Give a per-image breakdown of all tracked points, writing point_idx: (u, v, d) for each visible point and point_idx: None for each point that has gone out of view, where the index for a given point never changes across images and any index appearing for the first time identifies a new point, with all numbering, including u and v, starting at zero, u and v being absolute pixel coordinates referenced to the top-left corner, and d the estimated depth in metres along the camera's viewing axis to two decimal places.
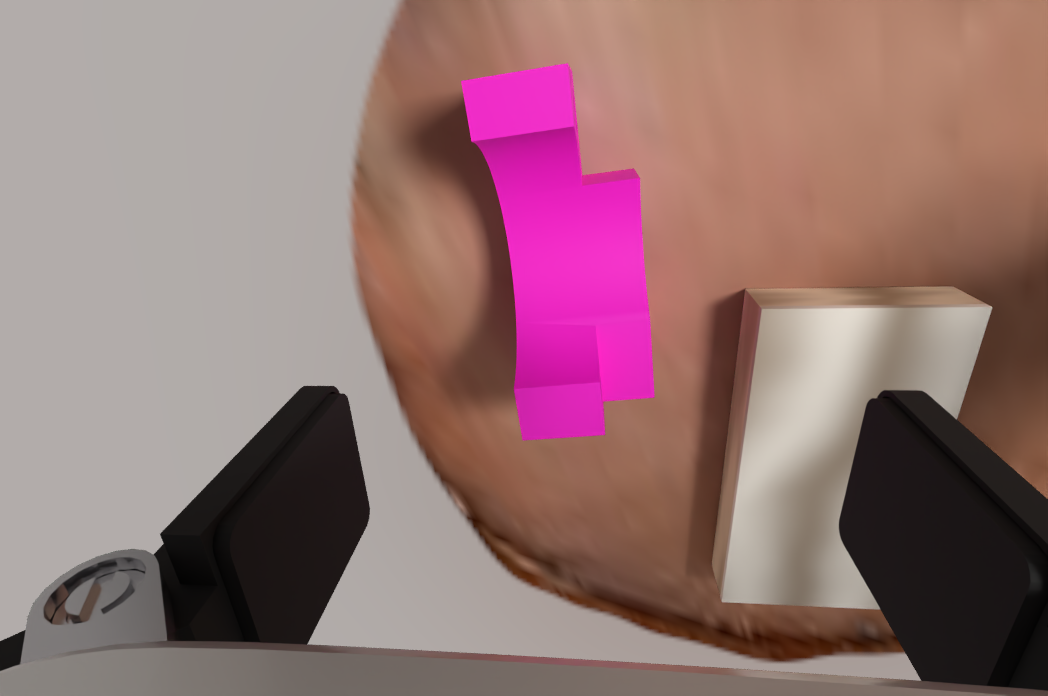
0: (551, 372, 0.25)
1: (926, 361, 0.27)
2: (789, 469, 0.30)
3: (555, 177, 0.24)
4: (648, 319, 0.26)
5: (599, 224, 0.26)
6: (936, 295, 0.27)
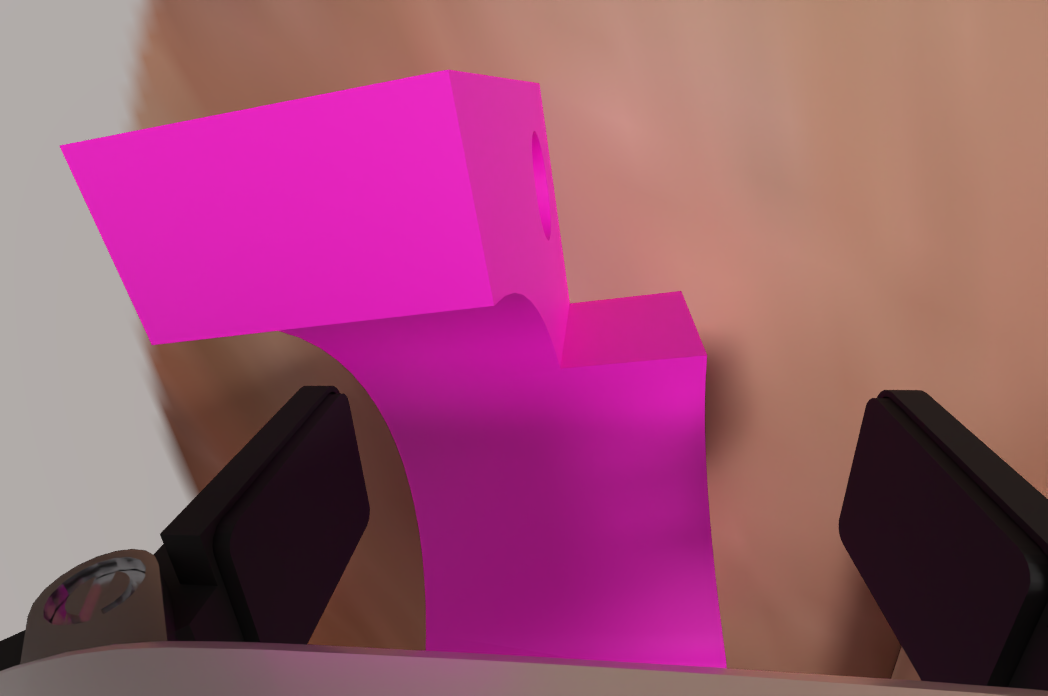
0: None
1: None
2: None
3: (491, 355, 0.10)
4: (722, 659, 0.11)
5: (604, 437, 0.11)
6: None
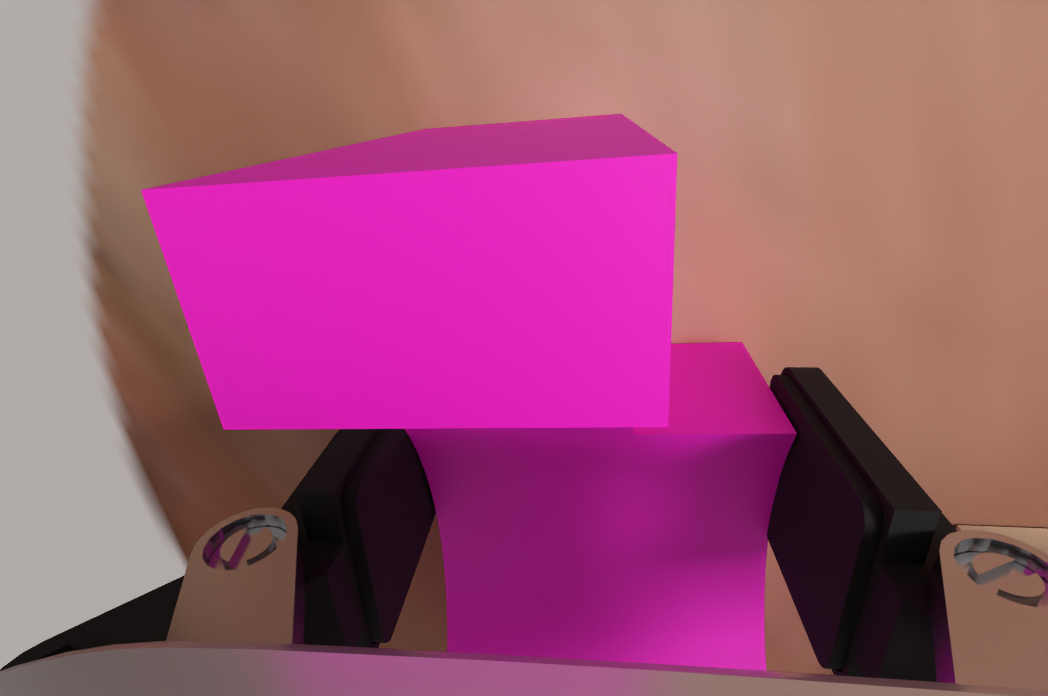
0: None
1: None
2: None
3: None
4: None
5: (663, 504, 0.10)
6: None
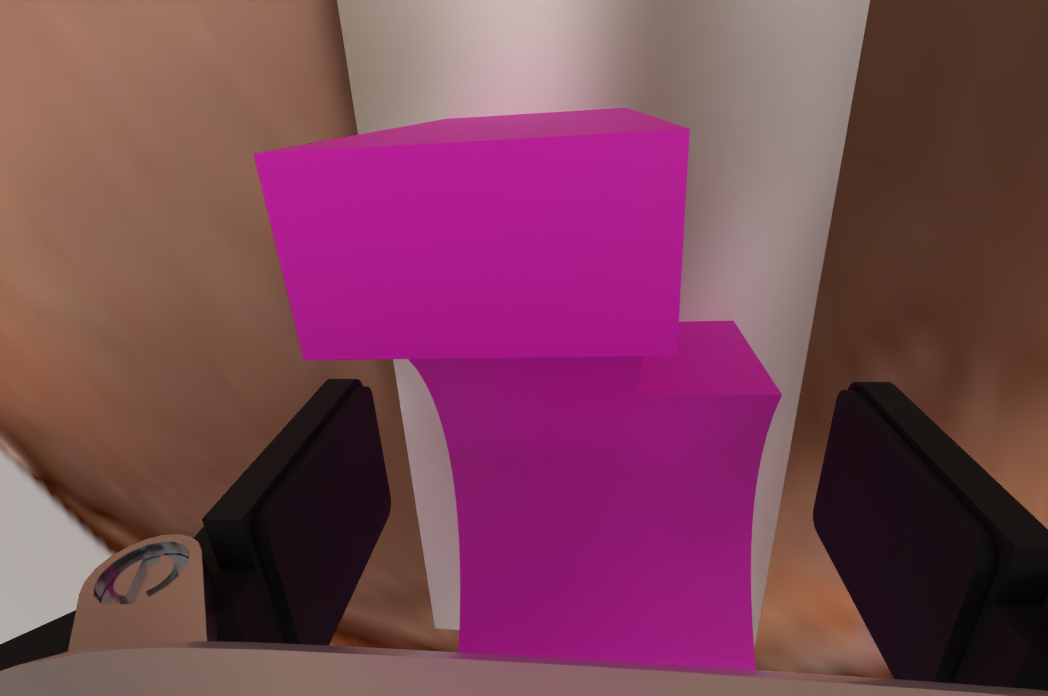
0: None
1: (743, 47, 0.11)
2: None
3: (574, 377, 0.10)
4: None
5: (660, 463, 0.11)
6: None
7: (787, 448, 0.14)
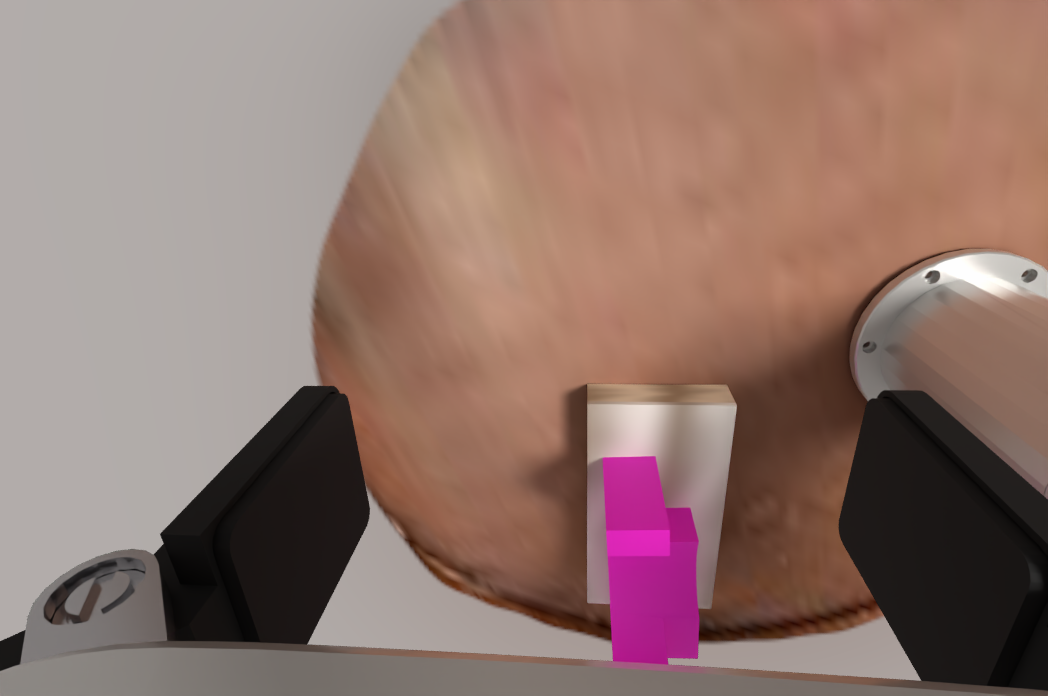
0: (636, 656, 0.39)
1: (700, 439, 0.39)
2: None
3: None
4: (698, 618, 0.40)
5: (669, 556, 0.40)
6: (709, 393, 0.39)
7: (718, 540, 0.43)
